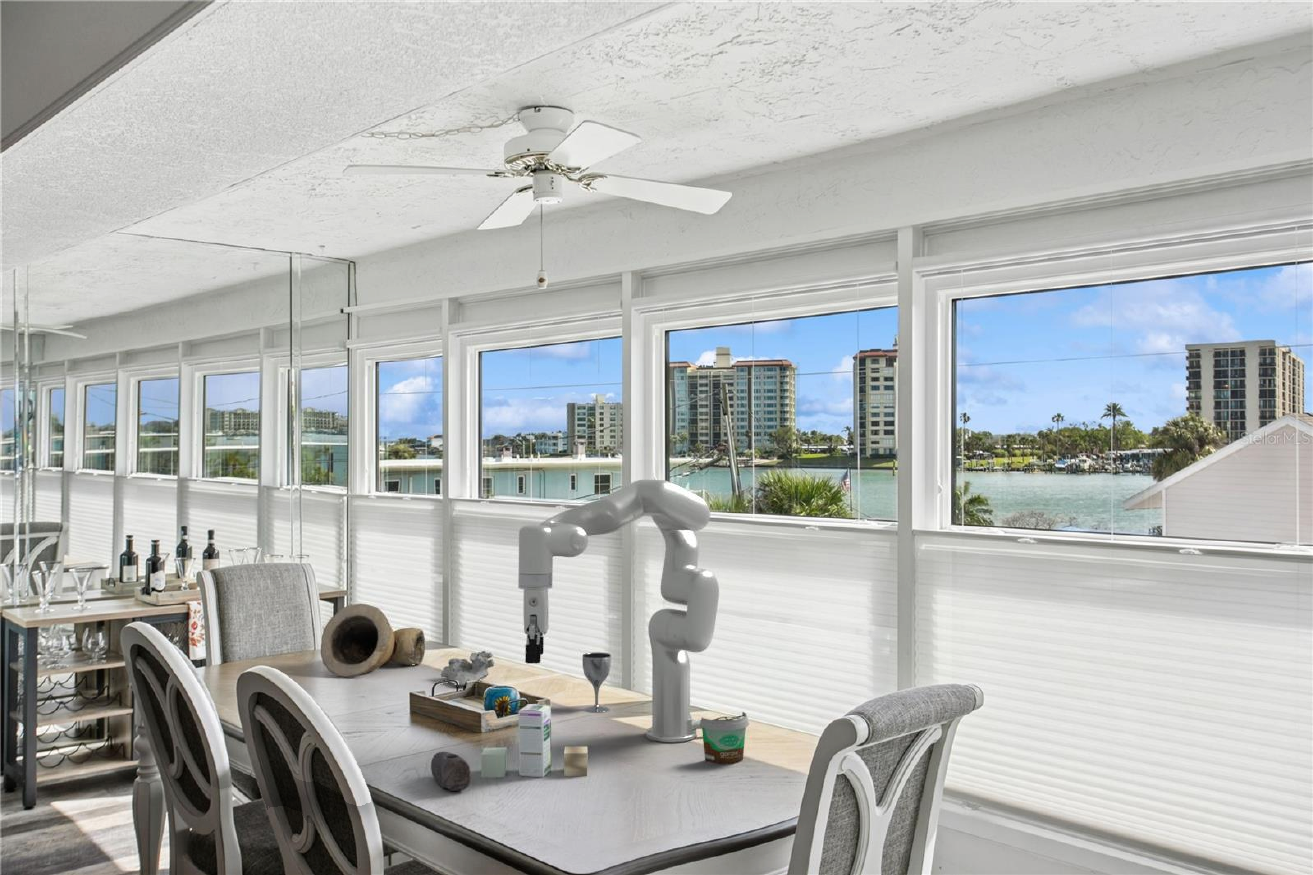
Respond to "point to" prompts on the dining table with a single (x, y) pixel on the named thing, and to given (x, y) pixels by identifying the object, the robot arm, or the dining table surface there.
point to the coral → (468, 668)
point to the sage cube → (493, 762)
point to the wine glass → (596, 675)
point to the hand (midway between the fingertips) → (534, 658)
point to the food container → (724, 739)
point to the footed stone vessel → (367, 642)
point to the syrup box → (535, 740)
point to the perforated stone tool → (450, 771)
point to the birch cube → (575, 761)
